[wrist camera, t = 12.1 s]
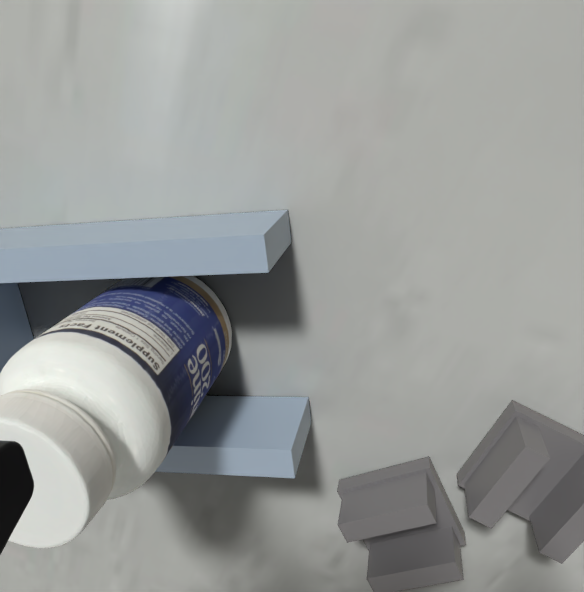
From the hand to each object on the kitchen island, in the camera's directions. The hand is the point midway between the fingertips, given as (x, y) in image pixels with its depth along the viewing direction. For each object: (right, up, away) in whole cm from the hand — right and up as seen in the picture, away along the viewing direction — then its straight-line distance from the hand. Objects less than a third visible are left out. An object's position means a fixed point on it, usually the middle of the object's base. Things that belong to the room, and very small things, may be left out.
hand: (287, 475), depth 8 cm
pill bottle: (-5, +1, +14) cm, 15 cm away
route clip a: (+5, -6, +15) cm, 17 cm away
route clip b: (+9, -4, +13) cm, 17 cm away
